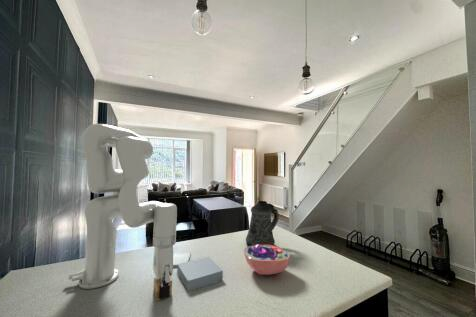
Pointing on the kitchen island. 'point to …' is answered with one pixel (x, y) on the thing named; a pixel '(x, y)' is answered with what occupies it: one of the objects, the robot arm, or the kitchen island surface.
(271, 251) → the cell model
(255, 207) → the beer stein
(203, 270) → the slate base
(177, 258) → the hard drive
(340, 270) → the kitchen island surface
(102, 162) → the robot arm
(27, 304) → the kitchen island surface
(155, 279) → the amber block
